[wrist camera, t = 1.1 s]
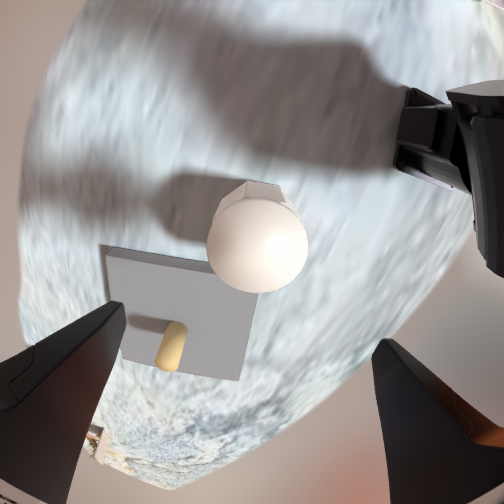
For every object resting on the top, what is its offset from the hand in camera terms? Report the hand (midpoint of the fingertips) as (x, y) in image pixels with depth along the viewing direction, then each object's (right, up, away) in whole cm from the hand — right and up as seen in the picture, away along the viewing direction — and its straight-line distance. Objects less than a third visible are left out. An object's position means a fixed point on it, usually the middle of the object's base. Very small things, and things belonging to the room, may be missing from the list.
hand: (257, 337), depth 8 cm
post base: (-6, -3, +15) cm, 16 cm away
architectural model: (-29, -32, +30) cm, 53 cm away
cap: (0, +5, +11) cm, 12 cm away
